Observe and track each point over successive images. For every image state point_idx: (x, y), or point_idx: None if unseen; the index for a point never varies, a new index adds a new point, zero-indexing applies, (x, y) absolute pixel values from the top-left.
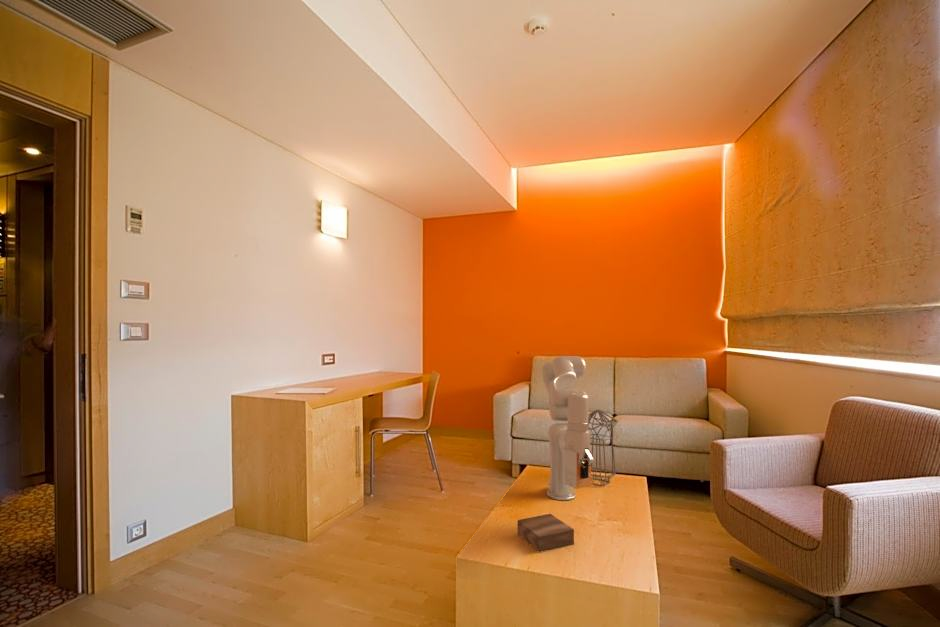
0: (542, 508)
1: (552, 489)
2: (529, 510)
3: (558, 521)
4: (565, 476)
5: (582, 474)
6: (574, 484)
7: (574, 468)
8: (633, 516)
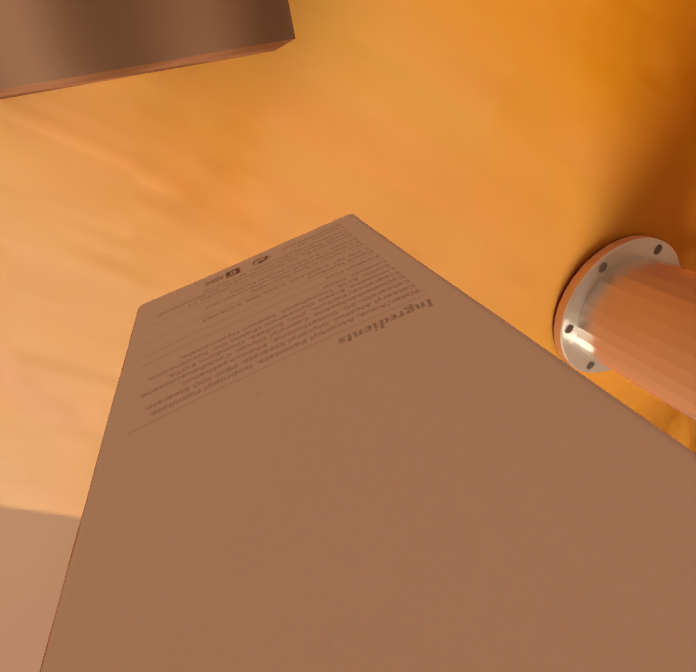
0: (532, 133)
1: (653, 266)
2: (541, 26)
3: (120, 31)
4: (363, 250)
5: None
6: (169, 309)
7: (152, 485)
8: None
